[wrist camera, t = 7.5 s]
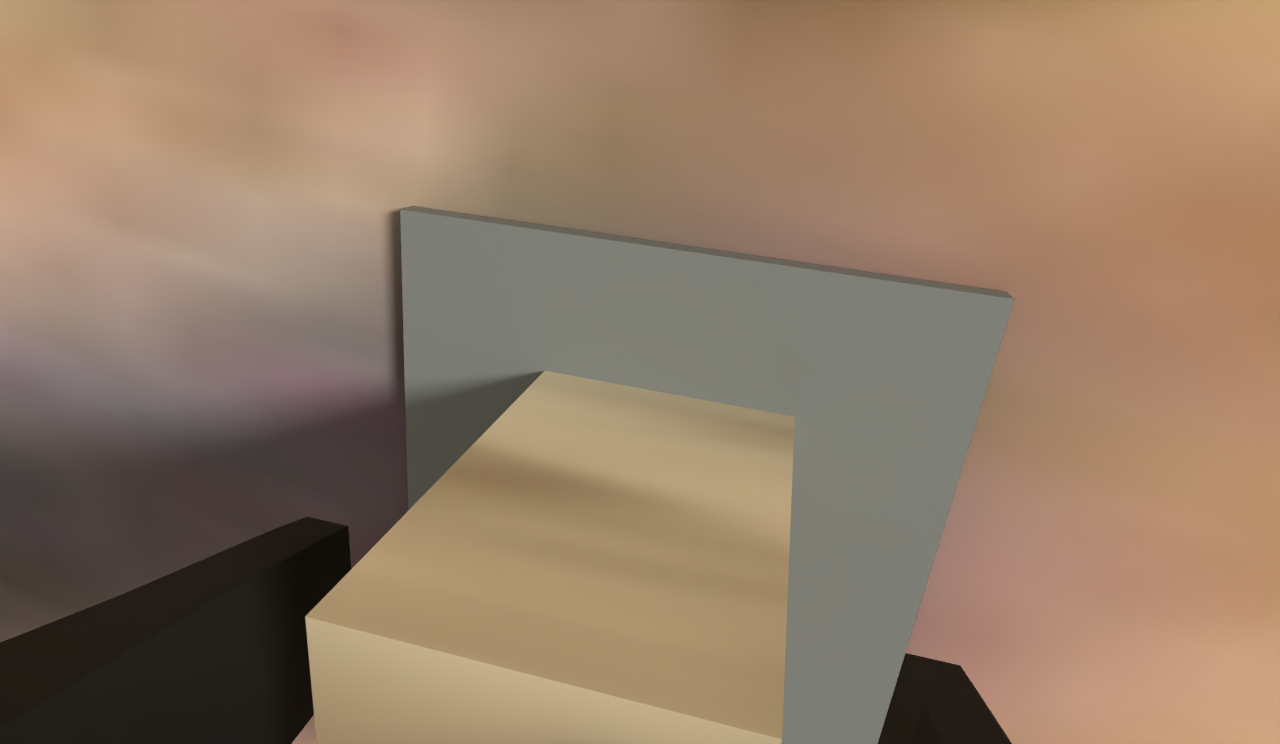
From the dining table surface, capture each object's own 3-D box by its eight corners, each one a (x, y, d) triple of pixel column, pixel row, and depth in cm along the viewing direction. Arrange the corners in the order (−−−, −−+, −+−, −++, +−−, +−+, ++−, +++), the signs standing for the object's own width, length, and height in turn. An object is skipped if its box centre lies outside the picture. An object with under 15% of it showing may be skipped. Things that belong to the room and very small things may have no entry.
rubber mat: (1007, 292, 10) (1013, 299, 10) (866, 756, 13) (867, 775, 13) (413, 205, 11) (400, 209, 11) (421, 644, 15) (412, 658, 14)
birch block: (752, 624, 12) (707, 1042, 7) (533, 572, 13) (332, 917, 7) (794, 416, 11) (782, 739, 5) (544, 370, 11) (304, 616, 6)
